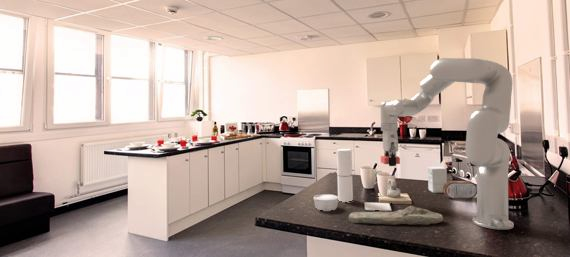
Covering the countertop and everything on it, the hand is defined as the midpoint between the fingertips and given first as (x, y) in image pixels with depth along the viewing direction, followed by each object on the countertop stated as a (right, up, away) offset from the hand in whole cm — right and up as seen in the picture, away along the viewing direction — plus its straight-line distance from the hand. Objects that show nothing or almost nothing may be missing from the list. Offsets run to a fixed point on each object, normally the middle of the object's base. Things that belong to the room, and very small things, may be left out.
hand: (390, 164), depth 149 cm
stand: (+3, -17, +3) cm, 18 cm away
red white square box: (0, +1, 0) cm, 1 cm away
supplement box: (+31, -16, +17) cm, 39 cm away
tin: (+34, -17, +2) cm, 38 cm away
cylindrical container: (-20, -18, +4) cm, 28 cm away
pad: (-9, -18, -8) cm, 22 cm away
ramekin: (-31, -19, -7) cm, 38 cm away
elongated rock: (-8, -19, -28) cm, 35 cm away
